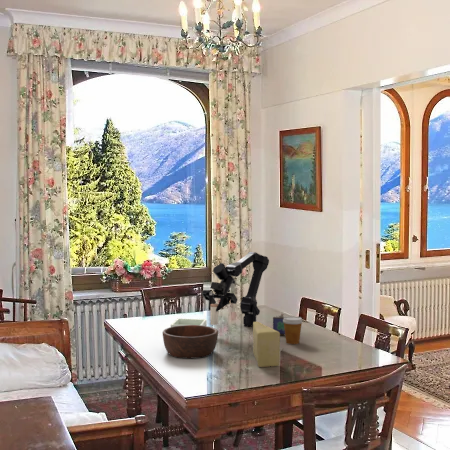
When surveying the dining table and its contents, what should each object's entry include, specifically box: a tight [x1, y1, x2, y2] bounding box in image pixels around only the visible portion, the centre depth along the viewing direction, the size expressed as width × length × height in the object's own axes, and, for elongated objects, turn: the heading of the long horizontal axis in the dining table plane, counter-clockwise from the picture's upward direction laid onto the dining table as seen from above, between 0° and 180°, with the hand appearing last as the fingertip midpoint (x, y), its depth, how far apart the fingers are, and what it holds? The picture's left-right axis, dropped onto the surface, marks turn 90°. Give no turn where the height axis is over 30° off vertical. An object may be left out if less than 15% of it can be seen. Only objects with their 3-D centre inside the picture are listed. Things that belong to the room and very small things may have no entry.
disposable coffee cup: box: [283, 315, 304, 345], centre depth 303 cm, size 10×10×12 cm
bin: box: [170, 318, 208, 327], centre depth 331 cm, size 16×16×4 cm
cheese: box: [252, 321, 281, 368], centre depth 272 cm, size 22×10×15 cm, turn 13°
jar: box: [210, 302, 220, 326], centre depth 315 cm, size 4×4×10 cm
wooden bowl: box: [162, 325, 219, 359], centre depth 284 cm, size 25×25×10 cm
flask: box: [272, 313, 285, 336], centre depth 321 cm, size 9×3×11 cm, turn 88°
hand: (212, 310), depth 314 cm, fingers closed on jar, 4 cm apart
